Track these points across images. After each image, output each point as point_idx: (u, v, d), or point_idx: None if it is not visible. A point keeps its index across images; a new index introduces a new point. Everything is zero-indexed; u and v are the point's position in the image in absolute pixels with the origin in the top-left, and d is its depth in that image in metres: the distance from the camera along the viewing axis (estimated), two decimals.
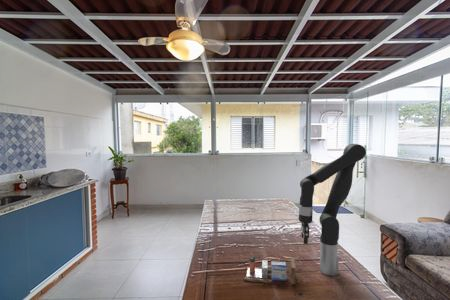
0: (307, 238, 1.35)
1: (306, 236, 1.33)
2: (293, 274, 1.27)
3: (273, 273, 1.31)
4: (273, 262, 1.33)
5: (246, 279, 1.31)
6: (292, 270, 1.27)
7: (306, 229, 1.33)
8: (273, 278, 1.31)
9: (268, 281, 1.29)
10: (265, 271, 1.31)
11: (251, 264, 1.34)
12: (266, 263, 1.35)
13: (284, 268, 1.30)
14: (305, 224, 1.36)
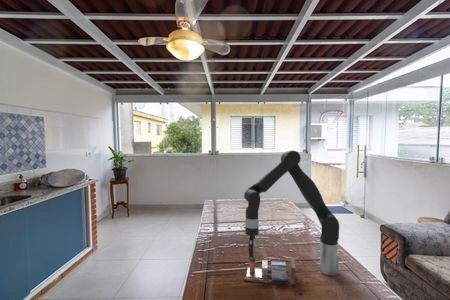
0: (252, 251, 1.31)
1: (250, 250, 1.29)
2: (293, 274, 1.27)
3: (273, 273, 1.31)
4: (273, 262, 1.33)
5: (246, 279, 1.31)
6: (292, 270, 1.27)
7: (250, 242, 1.29)
8: (273, 278, 1.31)
9: (268, 281, 1.29)
10: (265, 271, 1.31)
11: (251, 264, 1.34)
12: (266, 263, 1.35)
13: (284, 268, 1.30)
14: (250, 237, 1.32)
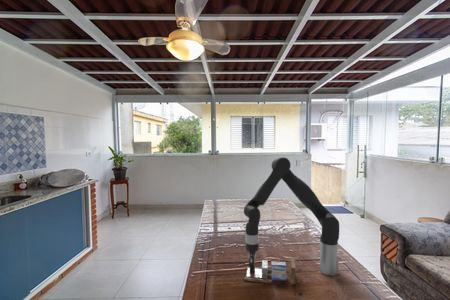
0: (253, 267, 1.34)
1: (251, 265, 1.31)
2: (293, 274, 1.27)
3: (273, 273, 1.31)
4: (273, 262, 1.33)
5: (246, 279, 1.31)
6: (292, 270, 1.27)
7: (250, 261, 1.29)
8: (273, 278, 1.31)
9: (268, 281, 1.29)
10: (265, 271, 1.31)
11: None
12: (266, 263, 1.35)
13: (284, 268, 1.30)
14: (250, 253, 1.32)
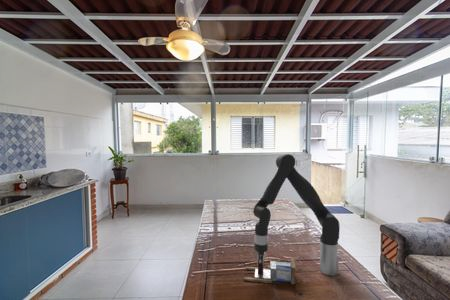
0: None
1: (260, 266, 1.30)
2: (293, 274, 1.27)
3: (277, 273, 1.30)
4: (278, 262, 1.33)
5: (246, 279, 1.31)
6: (292, 270, 1.27)
7: (259, 262, 1.29)
8: (277, 278, 1.30)
9: (268, 281, 1.29)
10: (274, 271, 1.30)
11: None
12: (274, 263, 1.35)
13: (289, 269, 1.29)
14: (259, 253, 1.31)
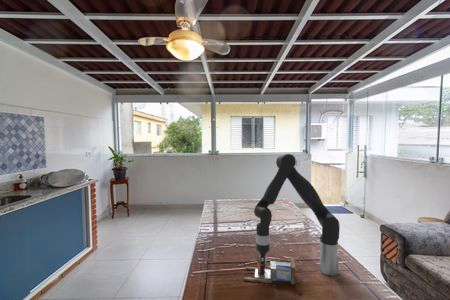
0: None
1: (262, 267, 1.28)
2: (293, 274, 1.27)
3: (277, 273, 1.30)
4: (278, 262, 1.33)
5: (246, 279, 1.31)
6: (292, 270, 1.27)
7: (262, 260, 1.28)
8: (277, 278, 1.30)
9: (268, 281, 1.29)
10: (274, 271, 1.30)
11: (259, 265, 1.34)
12: (274, 263, 1.35)
13: (289, 269, 1.29)
14: (262, 254, 1.31)
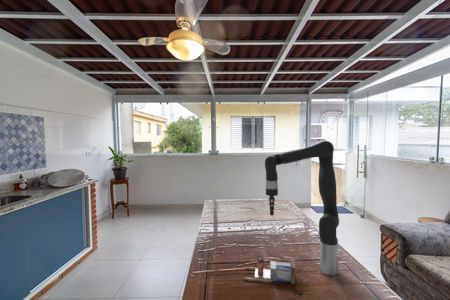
0: (273, 210, 1.46)
1: (271, 207, 1.44)
2: (293, 274, 1.27)
3: (277, 273, 1.30)
4: (278, 262, 1.33)
5: (246, 279, 1.31)
6: (292, 270, 1.27)
7: (271, 201, 1.44)
8: (277, 278, 1.30)
9: (268, 281, 1.29)
10: (274, 271, 1.30)
11: (259, 265, 1.34)
12: (274, 263, 1.35)
13: (289, 269, 1.29)
14: (271, 197, 1.47)
